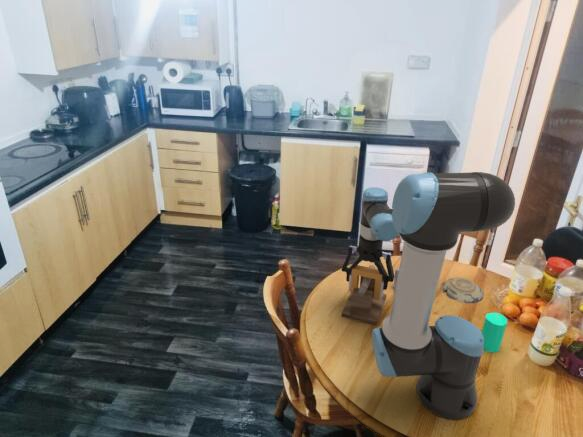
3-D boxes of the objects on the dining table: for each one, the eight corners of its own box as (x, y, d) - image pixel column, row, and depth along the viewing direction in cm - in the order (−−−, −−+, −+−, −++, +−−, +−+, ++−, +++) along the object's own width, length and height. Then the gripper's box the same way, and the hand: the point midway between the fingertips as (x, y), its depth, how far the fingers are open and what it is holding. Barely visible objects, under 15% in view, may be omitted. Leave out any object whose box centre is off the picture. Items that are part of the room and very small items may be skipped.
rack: (376, 325, 139) (380, 294, 134) (341, 316, 143) (343, 286, 138) (386, 297, 153) (389, 269, 147) (353, 290, 157) (355, 261, 151)
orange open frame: (379, 300, 143) (382, 275, 138) (350, 293, 146) (352, 268, 142) (381, 295, 145) (383, 270, 141) (352, 288, 149) (354, 264, 144)
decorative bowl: (492, 295, 155) (458, 275, 166) (494, 287, 153) (459, 267, 164) (465, 310, 148) (431, 288, 159) (468, 301, 146) (433, 279, 157)
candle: (498, 340, 133) (507, 309, 128) (501, 354, 128) (510, 322, 123) (477, 337, 134) (485, 306, 129) (479, 350, 129) (488, 318, 124)
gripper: (409, 236, 135) (401, 294, 145) (340, 224, 142) (337, 279, 152) (405, 247, 129) (397, 307, 138) (333, 233, 136) (330, 291, 146)
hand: (365, 292), depth 145 cm, fingers closed on orange open frame, 10 cm apart
